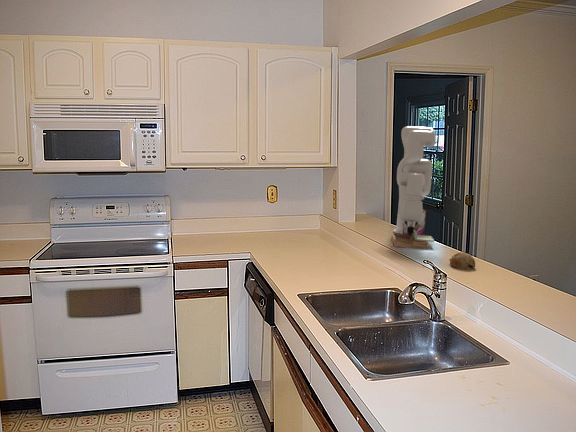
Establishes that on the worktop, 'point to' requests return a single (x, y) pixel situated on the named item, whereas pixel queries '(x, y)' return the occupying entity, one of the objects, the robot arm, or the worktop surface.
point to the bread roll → (462, 261)
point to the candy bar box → (418, 228)
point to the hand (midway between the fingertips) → (409, 234)
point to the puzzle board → (408, 241)
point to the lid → (422, 237)
